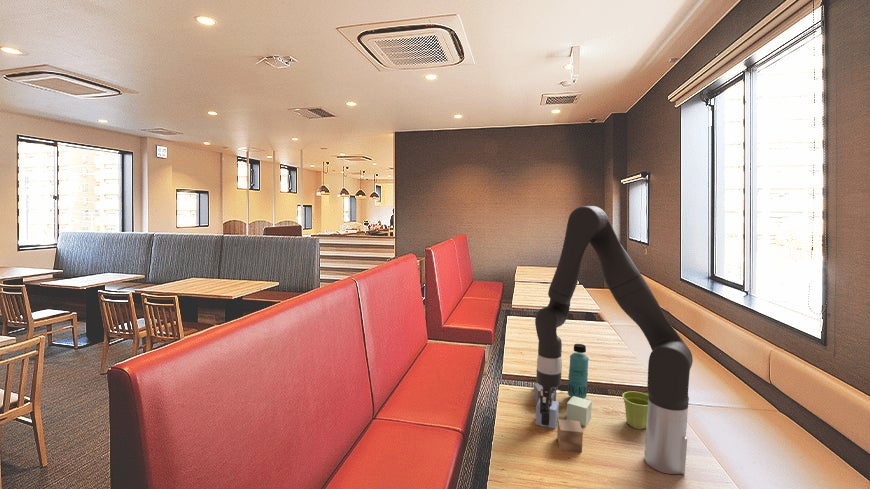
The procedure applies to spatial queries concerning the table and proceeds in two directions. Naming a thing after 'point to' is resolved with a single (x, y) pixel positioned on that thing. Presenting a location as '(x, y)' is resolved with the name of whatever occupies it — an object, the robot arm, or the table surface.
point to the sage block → (579, 410)
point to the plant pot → (636, 408)
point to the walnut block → (569, 435)
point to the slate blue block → (552, 416)
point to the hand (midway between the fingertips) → (547, 419)
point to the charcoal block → (538, 392)
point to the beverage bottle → (578, 372)
